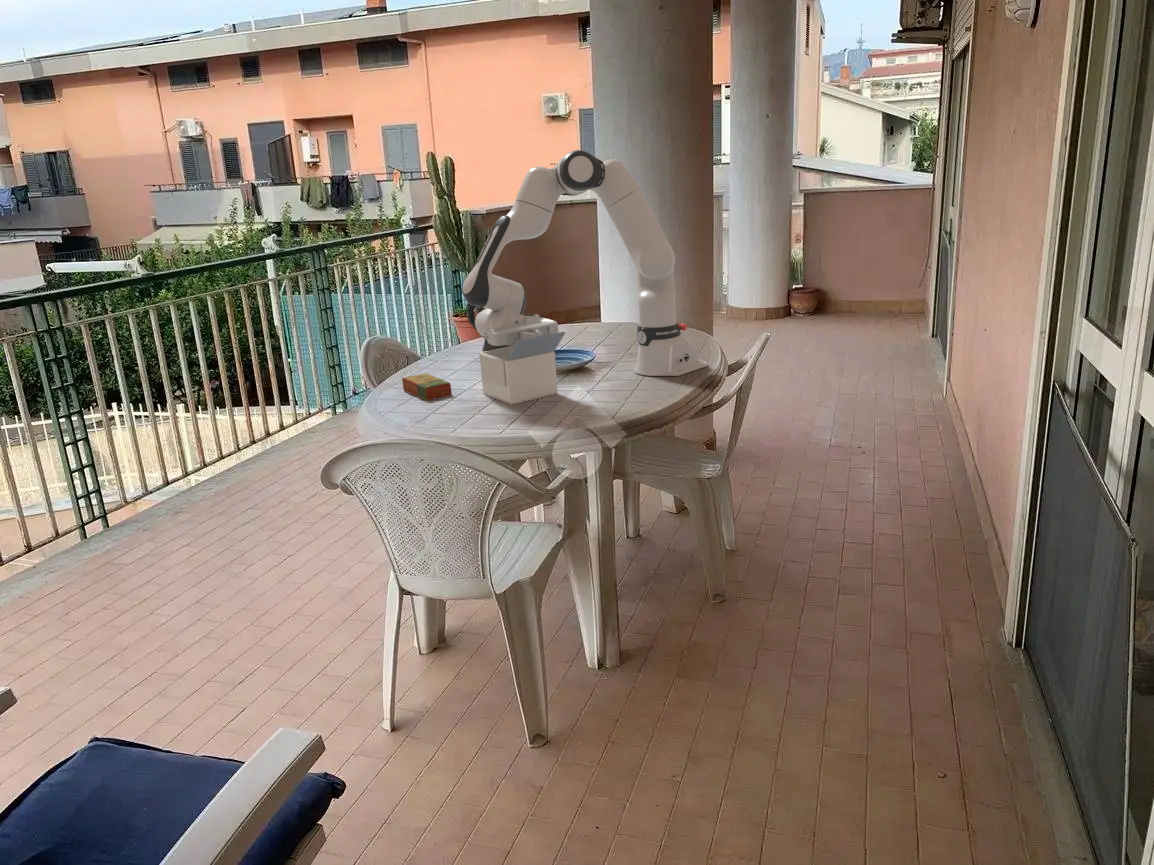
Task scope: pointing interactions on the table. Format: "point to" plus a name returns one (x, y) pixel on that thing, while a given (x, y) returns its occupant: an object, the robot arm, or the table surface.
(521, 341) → the flap
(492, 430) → the table surface
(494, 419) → the table surface
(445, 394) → the carton
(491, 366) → the shipping box
